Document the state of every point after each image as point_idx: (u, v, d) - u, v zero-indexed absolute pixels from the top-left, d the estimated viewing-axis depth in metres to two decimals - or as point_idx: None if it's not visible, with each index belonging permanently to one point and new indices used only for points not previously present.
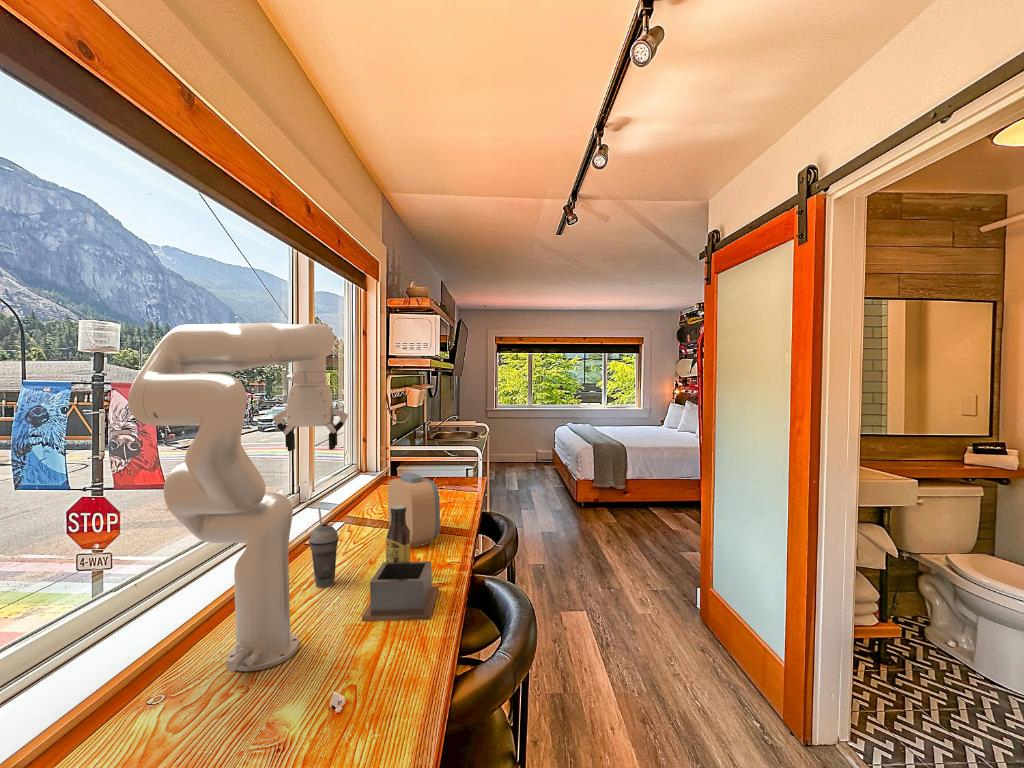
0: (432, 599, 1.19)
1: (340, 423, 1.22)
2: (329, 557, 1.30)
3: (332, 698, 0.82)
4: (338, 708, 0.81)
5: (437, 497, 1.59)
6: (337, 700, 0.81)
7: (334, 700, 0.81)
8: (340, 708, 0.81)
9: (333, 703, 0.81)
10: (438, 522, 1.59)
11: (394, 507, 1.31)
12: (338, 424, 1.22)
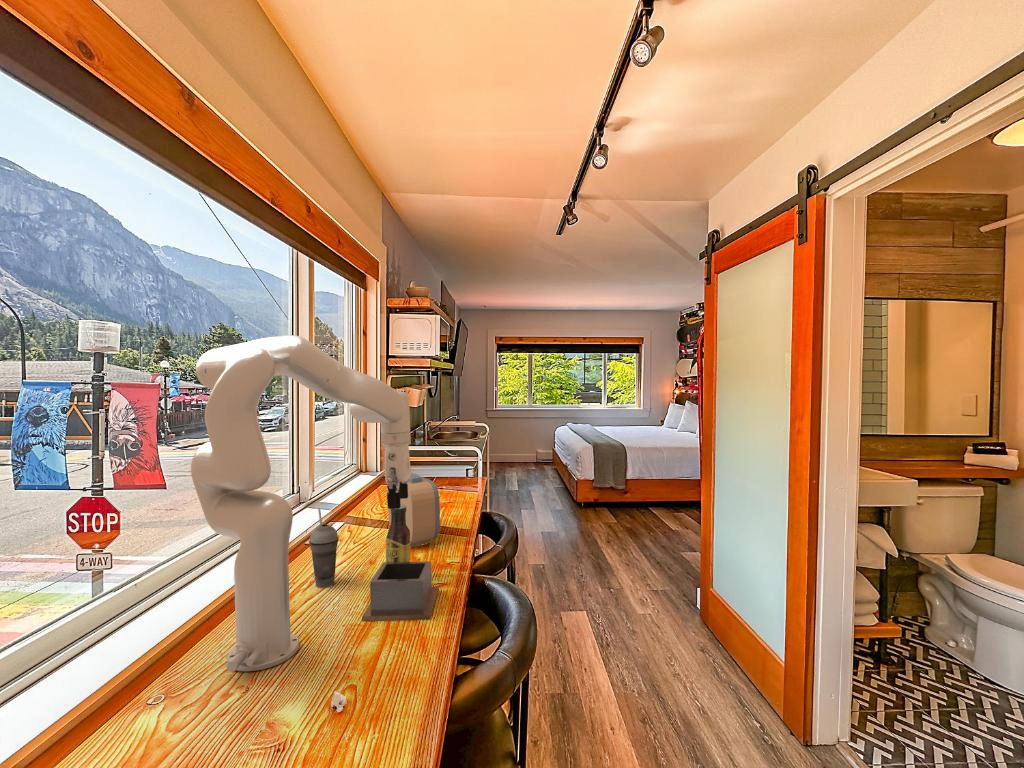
0: (432, 599, 1.19)
1: None
2: (329, 557, 1.30)
3: (333, 698, 0.82)
4: (339, 708, 0.81)
5: (437, 497, 1.59)
6: (338, 700, 0.81)
7: (335, 700, 0.81)
8: (341, 708, 0.81)
9: (334, 703, 0.81)
10: (438, 522, 1.59)
11: None
12: None
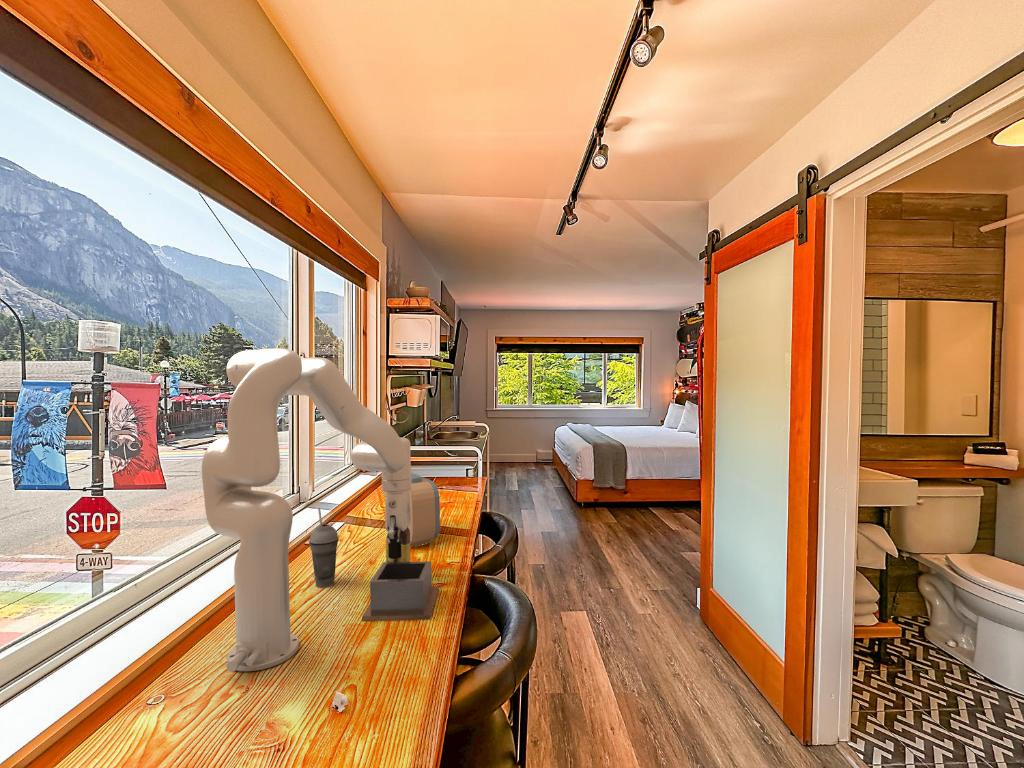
0: (432, 599, 1.19)
1: None
2: (329, 557, 1.30)
3: (335, 698, 0.82)
4: (341, 708, 0.81)
5: (437, 497, 1.59)
6: (340, 700, 0.81)
7: (337, 700, 0.81)
8: (343, 708, 0.81)
9: (336, 703, 0.81)
10: (438, 522, 1.59)
11: None
12: None
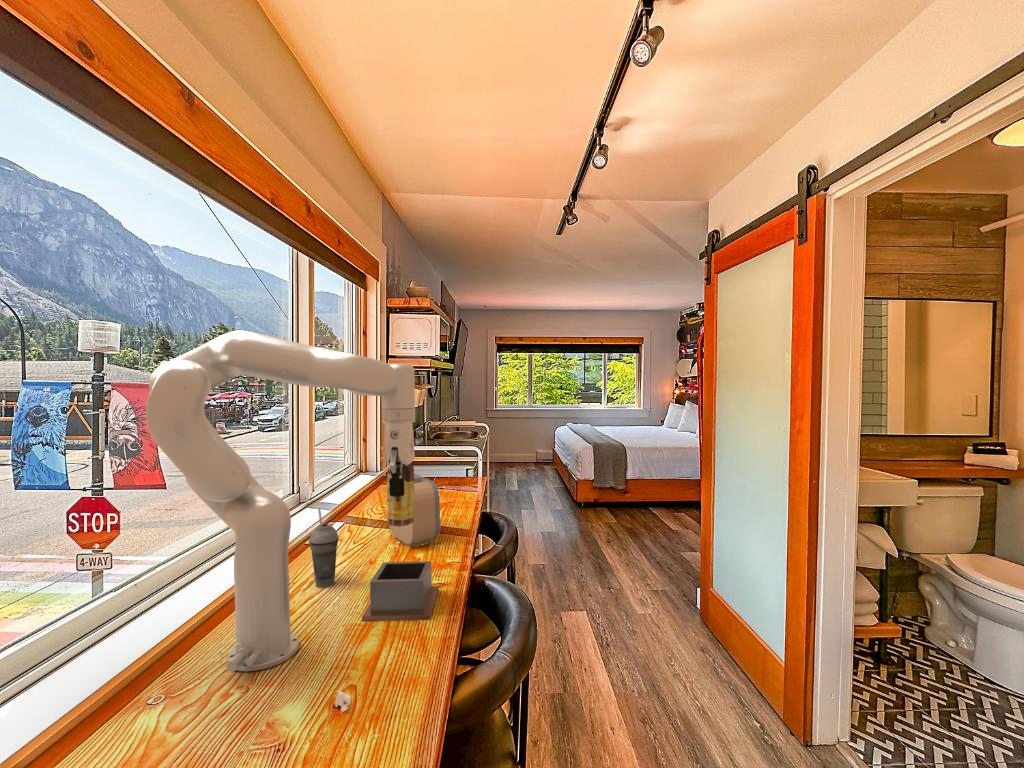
0: (432, 599, 1.19)
1: None
2: (329, 557, 1.30)
3: (338, 698, 0.82)
4: (344, 707, 0.81)
5: (437, 497, 1.59)
6: (343, 699, 0.81)
7: (340, 700, 0.81)
8: (346, 707, 0.81)
9: (339, 703, 0.81)
10: (438, 522, 1.59)
11: None
12: None
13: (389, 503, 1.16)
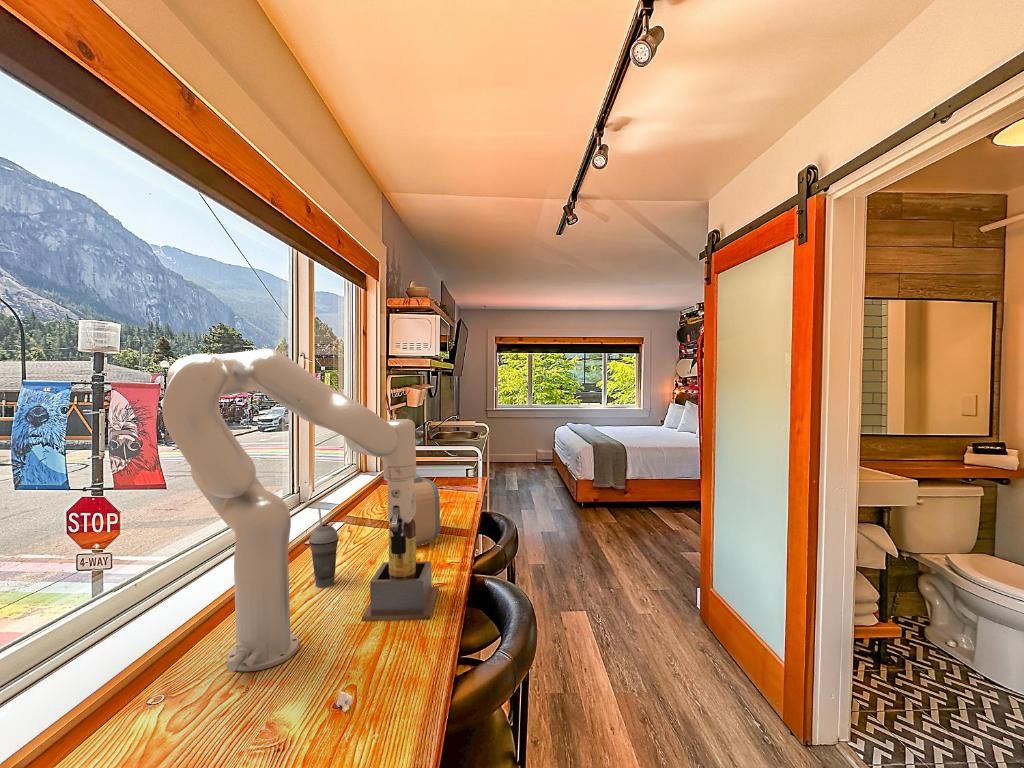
0: (432, 599, 1.19)
1: None
2: (329, 557, 1.30)
3: (339, 697, 0.82)
4: (345, 707, 0.81)
5: (437, 497, 1.59)
6: (344, 699, 0.81)
7: (341, 699, 0.81)
8: (347, 707, 0.81)
9: (340, 702, 0.81)
10: (438, 522, 1.59)
11: None
12: None
13: (391, 560, 1.17)
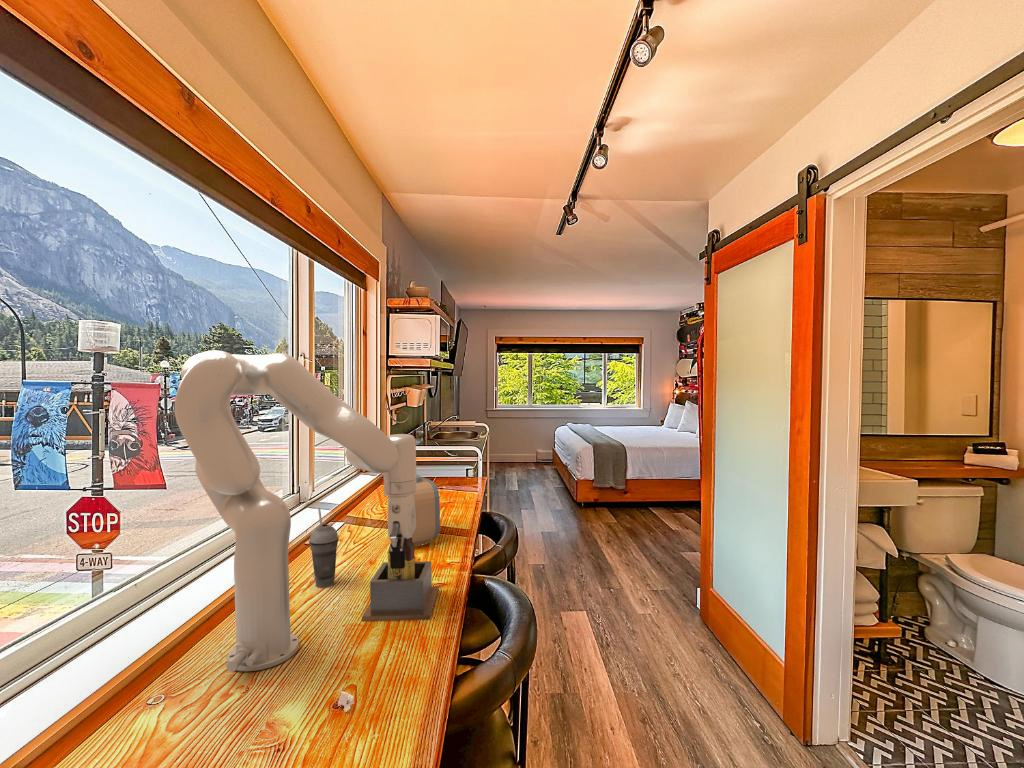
0: (432, 599, 1.19)
1: None
2: (329, 557, 1.30)
3: (341, 697, 0.82)
4: (347, 707, 0.81)
5: (437, 497, 1.59)
6: (346, 699, 0.81)
7: (343, 699, 0.81)
8: (349, 707, 0.81)
9: (342, 702, 0.82)
10: (438, 522, 1.59)
11: None
12: None
13: None
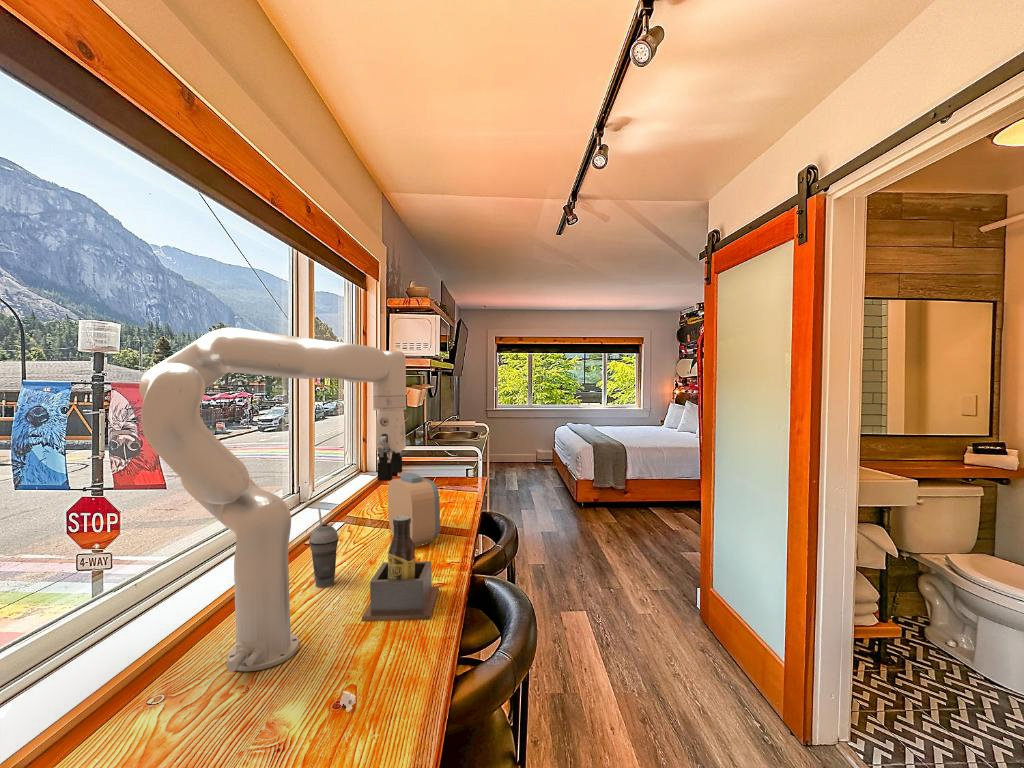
0: (432, 599, 1.19)
1: None
2: (329, 557, 1.30)
3: (343, 697, 0.82)
4: (349, 707, 0.81)
5: (437, 497, 1.59)
6: (348, 699, 0.81)
7: (345, 699, 0.81)
8: (351, 707, 0.81)
9: (344, 702, 0.82)
10: (438, 522, 1.59)
11: (397, 518, 1.17)
12: None
13: None
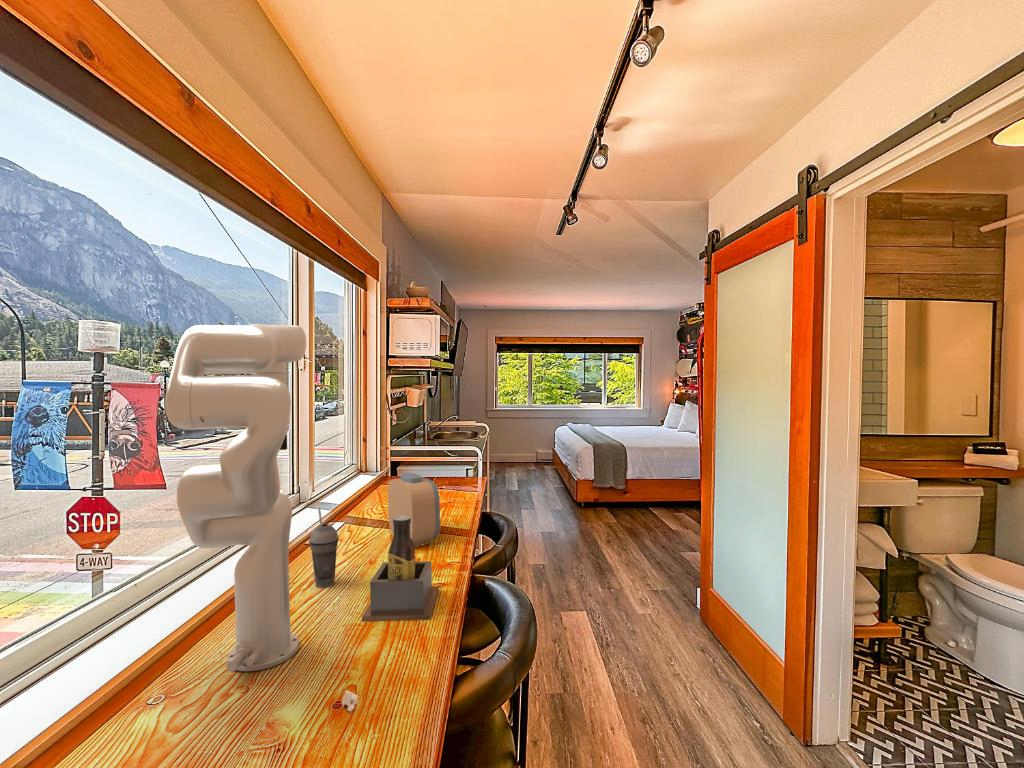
0: (432, 599, 1.19)
1: None
2: (329, 557, 1.30)
3: (344, 697, 0.82)
4: (351, 707, 0.81)
5: (437, 497, 1.59)
6: (350, 699, 0.81)
7: (346, 699, 0.82)
8: (353, 707, 0.81)
9: (345, 702, 0.82)
10: (438, 522, 1.59)
11: (397, 518, 1.17)
12: None
13: None
